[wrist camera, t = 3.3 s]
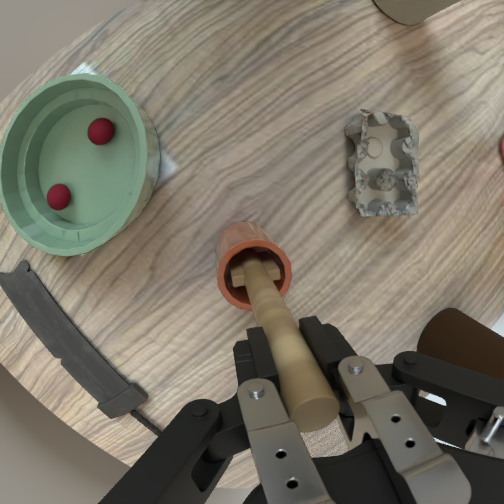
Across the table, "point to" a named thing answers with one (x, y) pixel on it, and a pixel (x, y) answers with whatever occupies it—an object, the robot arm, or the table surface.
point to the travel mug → (412, 9)
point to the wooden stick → (285, 344)
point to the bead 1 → (58, 197)
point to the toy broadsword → (71, 346)
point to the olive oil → (463, 343)
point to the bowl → (77, 164)
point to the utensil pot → (232, 244)
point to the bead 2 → (100, 131)
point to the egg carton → (384, 164)
